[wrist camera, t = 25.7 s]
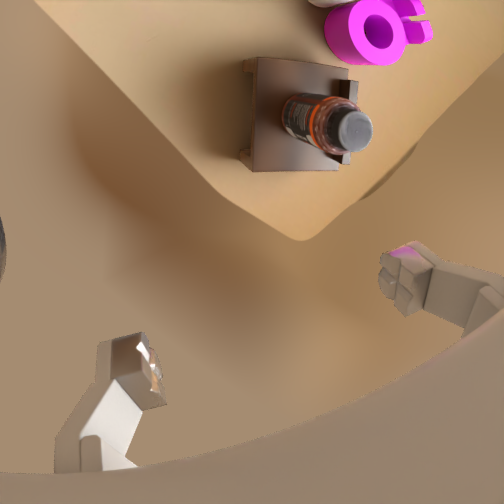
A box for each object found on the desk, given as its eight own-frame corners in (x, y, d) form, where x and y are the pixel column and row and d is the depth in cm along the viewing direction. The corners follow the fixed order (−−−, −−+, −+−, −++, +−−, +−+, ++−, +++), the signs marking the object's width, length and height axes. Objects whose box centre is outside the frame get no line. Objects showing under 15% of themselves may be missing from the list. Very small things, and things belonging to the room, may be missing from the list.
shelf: (239, 160, 42) (258, 178, 35) (243, 60, 35) (264, 55, 28) (317, 159, 45) (347, 176, 38) (325, 68, 38) (359, 69, 31)
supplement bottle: (285, 144, 36) (332, 170, 27) (274, 97, 33) (322, 106, 24) (327, 133, 37) (383, 154, 28) (319, 88, 34) (377, 95, 25)
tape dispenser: (341, 73, 39) (366, 74, 34) (313, 14, 34) (336, 7, 28) (410, 44, 39) (437, 45, 34) (389, -7, 33) (415, -12, 28)
